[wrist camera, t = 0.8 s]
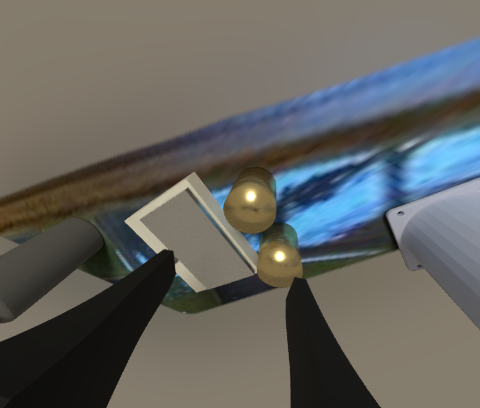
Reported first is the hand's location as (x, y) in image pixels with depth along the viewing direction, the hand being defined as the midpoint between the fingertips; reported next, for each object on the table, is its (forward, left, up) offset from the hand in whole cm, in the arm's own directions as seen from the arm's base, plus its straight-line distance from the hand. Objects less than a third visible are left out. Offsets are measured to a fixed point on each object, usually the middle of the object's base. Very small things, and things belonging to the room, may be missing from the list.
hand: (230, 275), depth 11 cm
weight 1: (-1, -1, -10) cm, 10 cm away
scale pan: (+7, +1, -7) cm, 10 cm away
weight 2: (0, +5, -10) cm, 11 cm away
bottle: (+24, -7, -10) cm, 26 cm away
